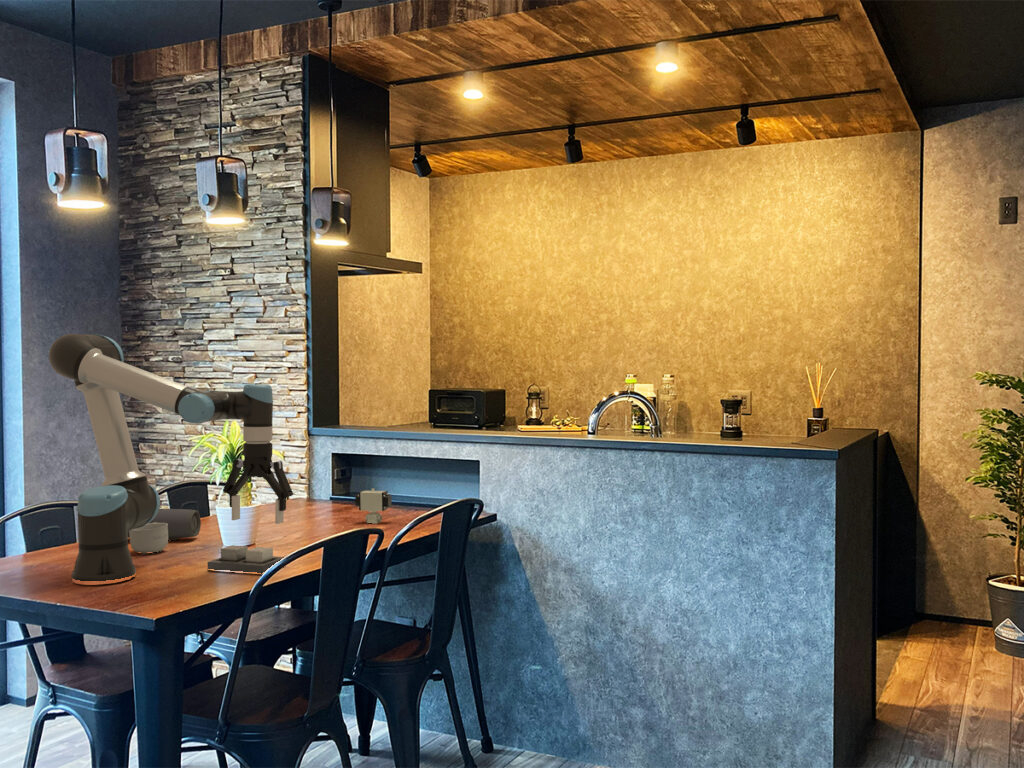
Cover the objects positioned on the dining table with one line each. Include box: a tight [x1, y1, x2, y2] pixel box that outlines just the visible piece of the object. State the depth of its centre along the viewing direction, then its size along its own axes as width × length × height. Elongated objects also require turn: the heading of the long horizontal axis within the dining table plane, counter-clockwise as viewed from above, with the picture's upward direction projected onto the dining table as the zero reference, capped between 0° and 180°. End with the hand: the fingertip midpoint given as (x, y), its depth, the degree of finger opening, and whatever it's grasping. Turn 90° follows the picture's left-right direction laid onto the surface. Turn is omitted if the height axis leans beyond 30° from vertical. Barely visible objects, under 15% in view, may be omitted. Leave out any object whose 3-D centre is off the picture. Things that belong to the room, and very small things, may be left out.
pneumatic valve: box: [354, 488, 393, 525], centre depth 317 cm, size 6×12×12 cm, turn 80°
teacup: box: [129, 522, 169, 553], centre depth 273 cm, size 14×11×8 cm
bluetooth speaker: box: [128, 508, 202, 541], centre depth 290 cm, size 23×9×10 cm, turn 89°
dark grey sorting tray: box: [207, 544, 285, 574], centre depth 248 cm, size 11×17×6 cm, turn 71°
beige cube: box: [246, 546, 274, 564], centre depth 247 cm, size 5×5×5 cm
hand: (257, 521), depth 247 cm, fingers open, 13 cm apart
